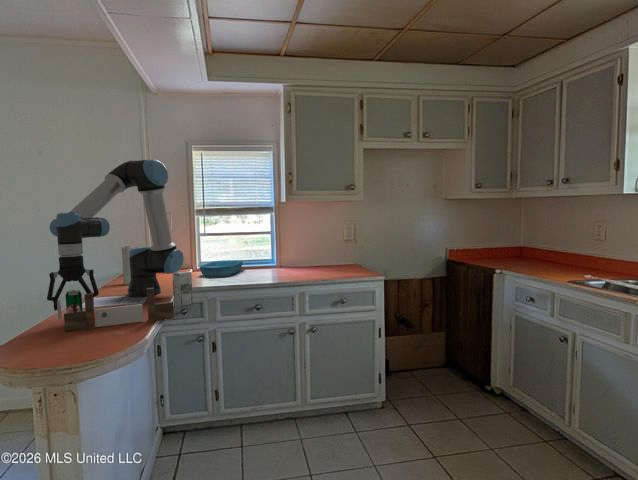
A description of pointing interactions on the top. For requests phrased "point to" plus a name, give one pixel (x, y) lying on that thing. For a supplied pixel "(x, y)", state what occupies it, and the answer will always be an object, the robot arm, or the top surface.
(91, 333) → the top surface
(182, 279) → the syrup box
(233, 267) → the casserole dish
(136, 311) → the gate
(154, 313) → the partition
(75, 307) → the soda can
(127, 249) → the pale grey tall block
